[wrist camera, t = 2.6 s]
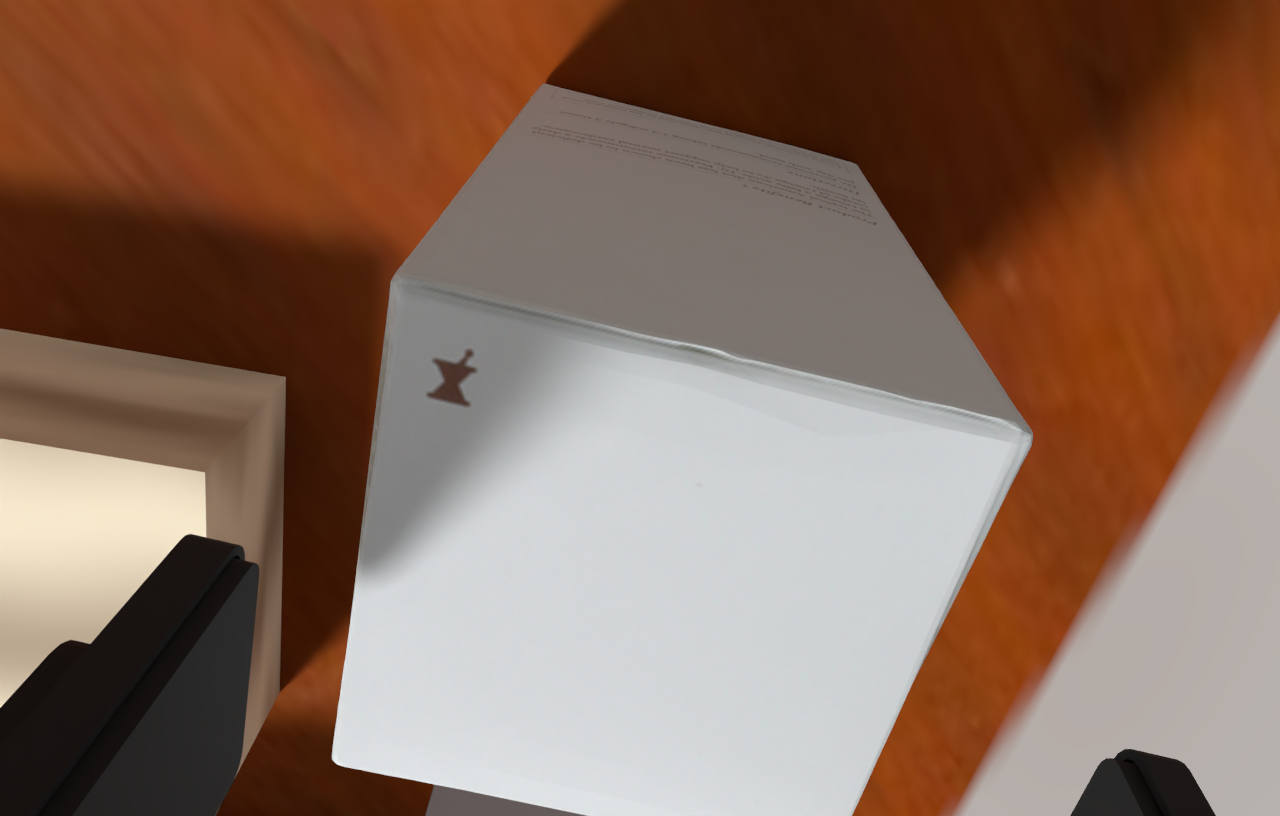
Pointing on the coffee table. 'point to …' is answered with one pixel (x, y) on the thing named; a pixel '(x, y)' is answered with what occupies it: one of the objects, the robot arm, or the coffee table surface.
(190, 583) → the robot arm
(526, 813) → the slate block
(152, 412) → the maple block
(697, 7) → the coffee table surface
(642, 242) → the supplement box
